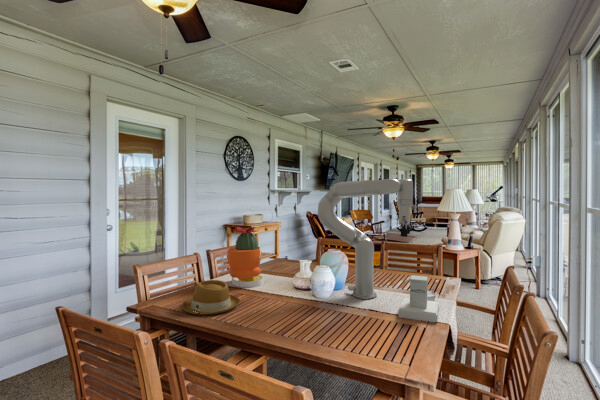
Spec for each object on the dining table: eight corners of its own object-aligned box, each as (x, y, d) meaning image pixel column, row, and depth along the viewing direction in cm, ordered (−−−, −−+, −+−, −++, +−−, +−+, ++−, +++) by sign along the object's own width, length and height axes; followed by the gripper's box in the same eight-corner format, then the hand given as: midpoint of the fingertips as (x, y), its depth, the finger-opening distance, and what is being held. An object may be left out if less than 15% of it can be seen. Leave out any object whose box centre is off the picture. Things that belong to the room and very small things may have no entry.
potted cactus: (244, 277, 218) (243, 223, 217) (270, 282, 205) (269, 225, 204) (219, 285, 201) (217, 227, 199) (245, 291, 188) (244, 229, 186)
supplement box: (409, 306, 150) (409, 278, 149) (411, 301, 157) (410, 274, 156) (426, 308, 147) (426, 280, 146) (427, 303, 154) (427, 276, 153)
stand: (398, 317, 148) (398, 308, 148) (403, 305, 163) (403, 297, 163) (437, 322, 142) (437, 313, 141) (438, 309, 156) (438, 301, 156)
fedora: (213, 294, 185) (212, 273, 185) (251, 304, 169) (250, 280, 168) (170, 309, 163) (169, 285, 163) (209, 322, 147) (208, 295, 146)
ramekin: (437, 308, 159) (437, 297, 159) (413, 306, 161) (413, 295, 161) (433, 300, 170) (433, 289, 170) (410, 298, 172) (410, 288, 172)
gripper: (400, 201, 184) (400, 232, 185) (395, 203, 169) (395, 237, 169) (414, 201, 181) (414, 233, 182) (410, 203, 165) (410, 237, 166)
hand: (405, 235), depth 176 cm, fingers open, 9 cm apart
